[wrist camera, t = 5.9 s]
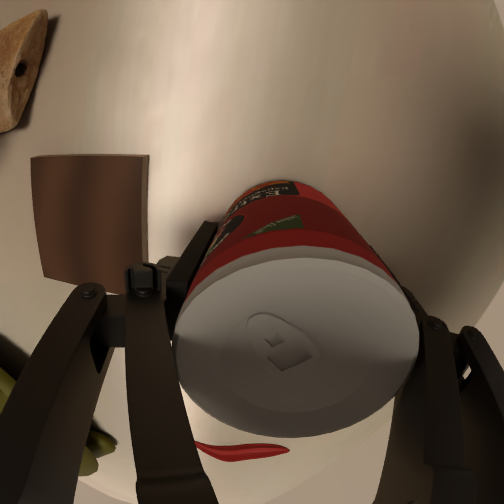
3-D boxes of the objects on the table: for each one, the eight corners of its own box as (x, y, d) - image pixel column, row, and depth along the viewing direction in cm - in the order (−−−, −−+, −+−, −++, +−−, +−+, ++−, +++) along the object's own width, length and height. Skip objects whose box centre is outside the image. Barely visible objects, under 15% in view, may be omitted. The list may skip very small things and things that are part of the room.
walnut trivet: (149, 155, 17) (142, 156, 16) (149, 292, 21) (144, 299, 20) (38, 155, 16) (30, 157, 16) (50, 271, 21) (43, 277, 20)
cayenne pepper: (192, 447, 30) (189, 459, 28) (193, 432, 28) (190, 445, 27) (283, 460, 30) (283, 471, 29) (293, 445, 29) (293, 458, 27)
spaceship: (76, 460, 41) (62, 492, 32) (-29, 372, 34) (-50, 399, 25) (140, 434, 30) (119, 494, 21) (-33, 279, 22) (-79, 318, 13)
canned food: (274, 151, 16) (285, 184, 6) (369, 235, 17) (458, 351, 7) (197, 247, 18) (128, 375, 8) (291, 314, 20) (302, 455, 10)
